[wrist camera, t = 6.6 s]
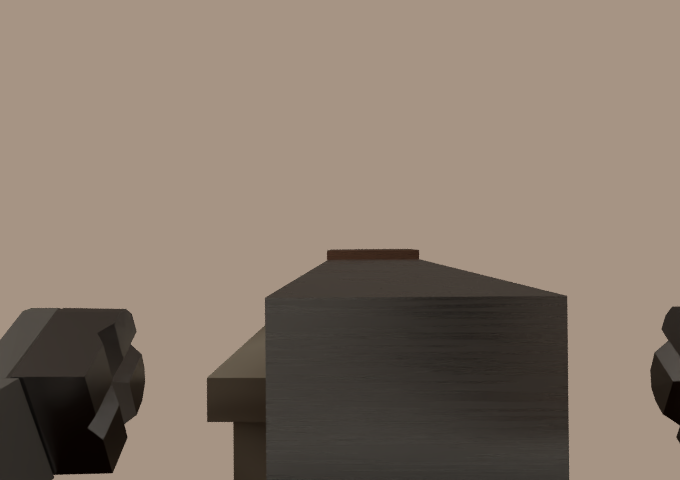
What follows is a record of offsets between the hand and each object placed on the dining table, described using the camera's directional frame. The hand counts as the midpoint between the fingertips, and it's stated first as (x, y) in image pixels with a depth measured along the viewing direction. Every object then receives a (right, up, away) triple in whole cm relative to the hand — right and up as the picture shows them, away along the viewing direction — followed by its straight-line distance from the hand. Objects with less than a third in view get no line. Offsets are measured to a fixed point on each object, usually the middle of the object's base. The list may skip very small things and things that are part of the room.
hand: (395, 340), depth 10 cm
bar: (0, -2, +8) cm, 8 cm away
